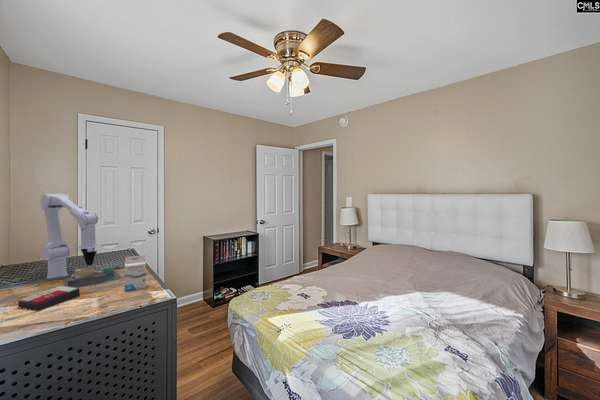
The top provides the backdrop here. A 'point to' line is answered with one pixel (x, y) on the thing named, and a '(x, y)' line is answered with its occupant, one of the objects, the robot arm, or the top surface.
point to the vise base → (91, 280)
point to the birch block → (84, 272)
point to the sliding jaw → (105, 271)
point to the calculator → (49, 298)
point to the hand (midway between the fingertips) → (88, 263)
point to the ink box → (135, 273)
